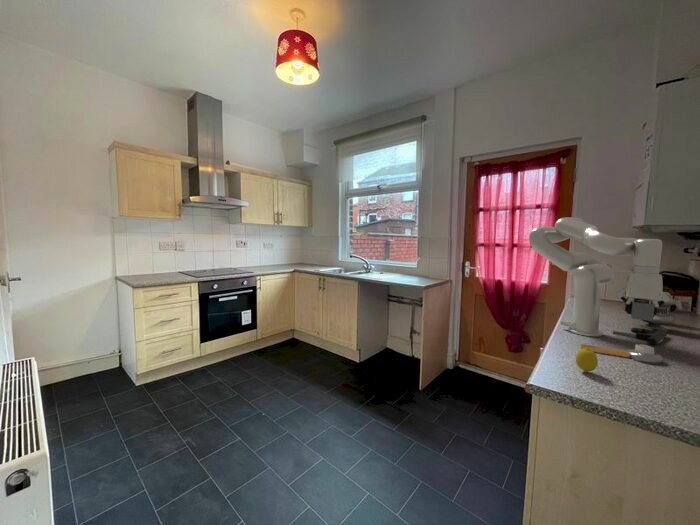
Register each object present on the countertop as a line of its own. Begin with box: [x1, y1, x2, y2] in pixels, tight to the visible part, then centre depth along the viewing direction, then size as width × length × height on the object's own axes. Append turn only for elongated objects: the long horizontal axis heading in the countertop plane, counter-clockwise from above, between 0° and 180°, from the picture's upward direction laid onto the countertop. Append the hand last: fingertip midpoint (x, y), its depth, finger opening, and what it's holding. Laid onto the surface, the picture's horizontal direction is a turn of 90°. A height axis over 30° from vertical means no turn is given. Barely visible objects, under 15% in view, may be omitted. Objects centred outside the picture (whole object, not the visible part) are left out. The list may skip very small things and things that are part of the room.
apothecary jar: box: [639, 291, 676, 333], centre depth 142 cm, size 12×12×18 cm
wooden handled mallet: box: [579, 343, 663, 365], centre depth 110 cm, size 22×9×5 cm, turn 57°
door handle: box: [612, 327, 669, 346], centre depth 130 cm, size 3×20×16 cm
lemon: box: [575, 348, 599, 373], centre depth 95 cm, size 6×6×8 cm
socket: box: [626, 299, 655, 321], centre depth 117 cm, size 6×6×8 cm
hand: (639, 314), depth 117 cm, fingers closed on socket, 6 cm apart
